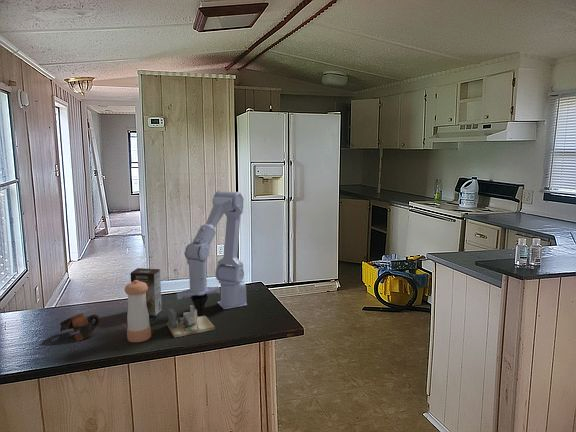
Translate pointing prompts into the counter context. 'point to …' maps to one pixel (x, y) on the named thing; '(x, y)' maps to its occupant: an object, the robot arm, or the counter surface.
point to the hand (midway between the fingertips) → (199, 315)
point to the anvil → (172, 318)
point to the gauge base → (192, 327)
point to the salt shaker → (137, 312)
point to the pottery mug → (81, 325)
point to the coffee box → (150, 288)
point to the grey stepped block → (189, 316)
